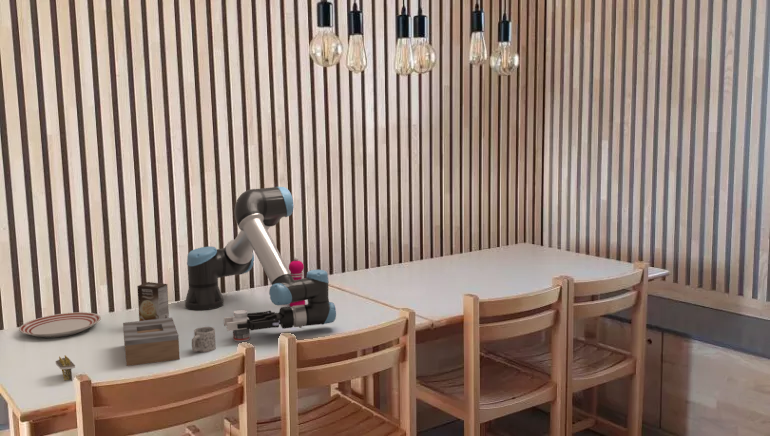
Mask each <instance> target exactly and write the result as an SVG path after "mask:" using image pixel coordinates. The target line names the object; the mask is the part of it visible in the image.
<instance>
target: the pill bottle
mask: <svg viewBox="0 0 770 436" xmlns="http://www.w3.org/2000/svg"><path fill="white" fill-rule="evenodd" d="M247 313H248V311H247V310H244V309H238V310H234V311H233V317H234V318H233V321H232V322H237V321H247V319H249V318H248V317H247ZM232 337H233V338H232V340H233V341H234V342H239V343H240V342H241V343H242V342H247V341H249V340H250V339H251V330H250V329H240V330H232Z"/></svg>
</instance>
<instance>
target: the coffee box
mask: <svg viewBox="0 0 770 436" xmlns="http://www.w3.org/2000/svg"><path fill="white" fill-rule="evenodd" d="M136 288H137V301H138V302H137V303H138V319H139V320H138V321H144V320H153V319H163V318H170V316H169V315H170V313H169V295H168V294H169V292H168V290H169V288H168V283H161V282H153V281H147V282H144V283H141V284H139V285H137V287H136Z"/></svg>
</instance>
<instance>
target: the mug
mask: <svg viewBox="0 0 770 436" xmlns="http://www.w3.org/2000/svg"><path fill="white" fill-rule="evenodd" d="M215 330H216V329H215V327H211V326H204V327H203V326H202V327H201V326H200V327H198V328H195V329H194V330H193V334H194V336H193V337H192V338H191V350H192V352H197V353H210V352H213V351H215V350H216V347H217V346H216V331H215Z"/></svg>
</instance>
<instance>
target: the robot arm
mask: <svg viewBox="0 0 770 436" xmlns="http://www.w3.org/2000/svg"><path fill="white" fill-rule="evenodd" d="M293 199H294V198H293V195H292V193H291V192H290V190H289V189H288V188H287V187H284V186H273V187H272V186H271V187H264V188H252V189H247V190H246V191H244V192H241V194H240V195H239V196H238V198H237V200H236V201H235V205H234V209H233V210H234V219H235V223H236V225H237V226H238V227H237V228H239V230H240V231H239V232H238V233H237V236H236V237H235V239H231V240H230V241H228V242H227V243H226V245H225V247H223V248H218V249H217V248H216V247H215V246H203V247H202V246H201V247H198V248H195V249H191V250H190V251H189V252H188V254H187V255H186V256H187V259H186V261H187V262H186V265H187V280H188V290H187V294H186V295H185V296H186V297H185V301H184V307H185V309H188V310H193V311H207V310H214V309H218V308H220V307H222V306H224V296H223V295H222V293H221V290H220V287H219V278H224V277H230V276H231V277H232V276H238V275H243V274H247V273H248V272H250V271H251V270H252V269H253V267H254V263H255V262H254V261H255V255H256V257H257V259H258V261H259V263H260V265H261V267H262V268H263V271H264V273H265V275H266V276H267V279H268V281H269V282H270V284H271V286H270V287H269V291H268V293H269V299H270V300H271V301H270V302H272V303H273V304H274V305H275V306H281V307H280V308H279V312H275V311H271V310H266V311H260V312H259V311H258V312H250V313H248V312H247V317H248V318H249V319H247V321H237V322H232V321H233V318H234V316H228V317H223V324H224V327H226V331H227V332H229V331H230V332H231V331H232V332H233V330H240V329H250V331H257V330H264V329H271V328H276V329H277V328H279V327H281V328H282V329H291V328H300V329H301V328H303V327H309V326H319V325H325V324H331V323H334V322H335V321H336V319H337V310H336V305H335V303H334V302H332V301H330V300H329V299H330V298H329V274H328V271H327V270H324V269H311V270H309V271H307V272H306V276H305V277H304V278H302V279H298V280H294V279H293V278H292V276H291V274H290V273H291V271H290V270H289V267H288V266H287V265H286V263H285V261H284V259H283V257H282V255H281V253H280V252H279V250H278V248H277V245H276V244H275V242H274V240H273V239H272V237H271V234H270V232H269V229H270V228H271V227H275V226H277V225H278V223H279V222H280V221H281V219H282V218H288V217H290V216H291V215H292V214H293V212H294V205H295V204H294V200H293ZM253 251H254V253H255V255H254V253H253ZM303 300H305V301H307V304H305V305H297V306H292V307H291V306H290V303H294V302H298V301H303ZM284 305H289V306H284Z"/></svg>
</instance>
